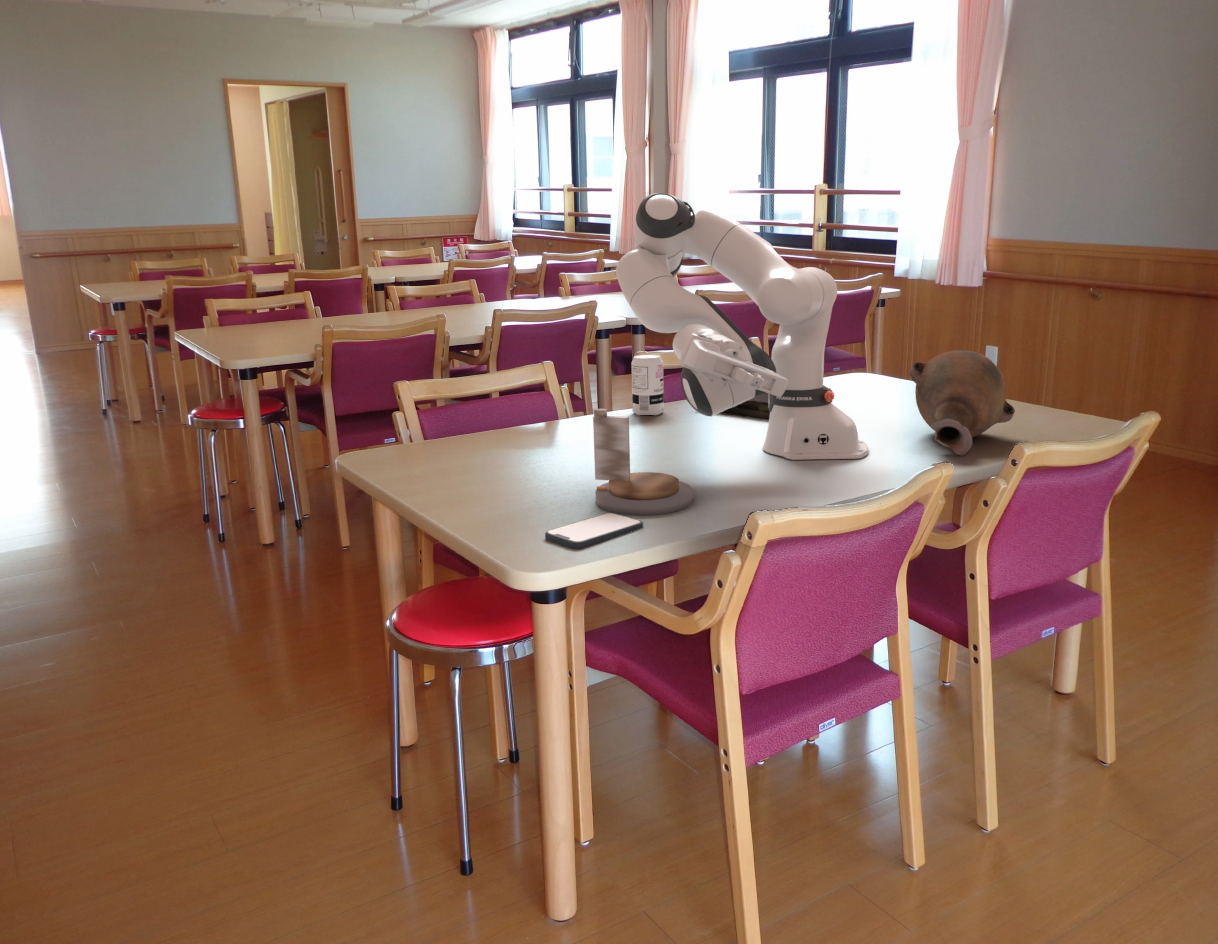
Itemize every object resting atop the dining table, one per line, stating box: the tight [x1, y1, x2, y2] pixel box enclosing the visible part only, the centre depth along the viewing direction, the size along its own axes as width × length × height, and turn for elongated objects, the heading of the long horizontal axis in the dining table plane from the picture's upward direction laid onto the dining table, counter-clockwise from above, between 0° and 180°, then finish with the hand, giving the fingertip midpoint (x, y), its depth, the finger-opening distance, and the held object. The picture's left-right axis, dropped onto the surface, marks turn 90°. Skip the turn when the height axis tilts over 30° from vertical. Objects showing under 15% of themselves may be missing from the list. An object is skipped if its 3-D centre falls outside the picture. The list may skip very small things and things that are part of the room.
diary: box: [719, 393, 770, 421], centre depth 260 cm, size 19×25×5 cm
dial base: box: [594, 480, 694, 516], centre depth 184 cm, size 18×18×2 cm
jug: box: [908, 349, 1016, 456], centre depth 218 cm, size 20×20×30 cm
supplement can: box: [630, 353, 665, 416], centre depth 258 cm, size 8×8×15 cm
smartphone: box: [544, 512, 644, 550], centre depth 167 cm, size 9×2×16 cm
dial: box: [592, 408, 680, 499], centre depth 182 cm, size 16×13×15 cm
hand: (756, 382), depth 176 cm, fingers closed
